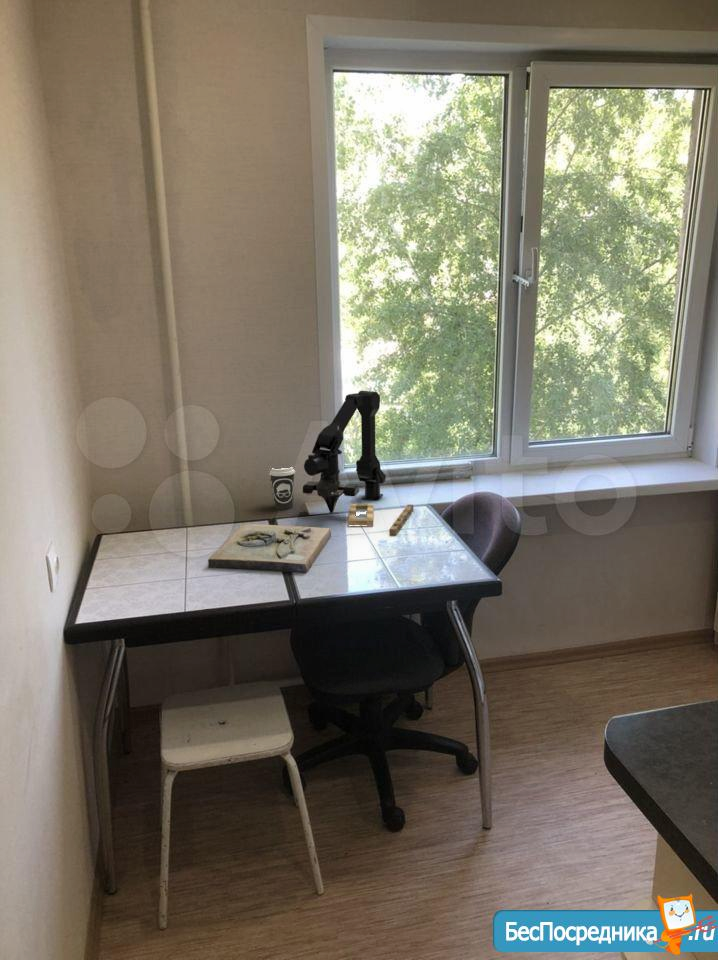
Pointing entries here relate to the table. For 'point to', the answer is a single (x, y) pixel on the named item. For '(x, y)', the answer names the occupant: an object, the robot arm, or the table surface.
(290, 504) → the coffee cup
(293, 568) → the plaque
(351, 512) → the frame
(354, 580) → the table surface
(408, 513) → the rail
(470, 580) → the table surface
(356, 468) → the robot arm
